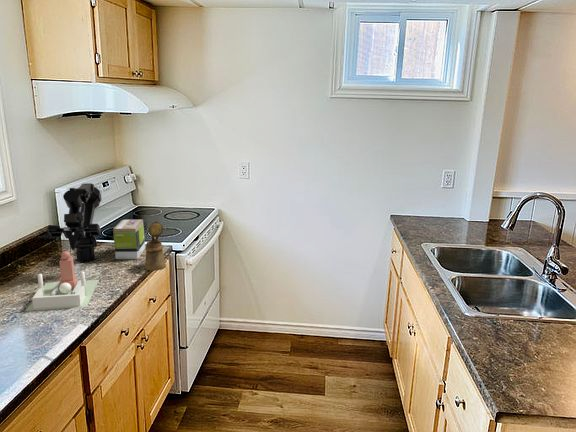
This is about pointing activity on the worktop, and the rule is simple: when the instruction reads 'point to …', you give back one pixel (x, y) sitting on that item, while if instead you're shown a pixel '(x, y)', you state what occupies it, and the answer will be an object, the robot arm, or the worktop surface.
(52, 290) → the pitch
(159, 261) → the brown pawn figure
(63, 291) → the ball
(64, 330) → the worktop surface
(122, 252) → the tea box
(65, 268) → the striker
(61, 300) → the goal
